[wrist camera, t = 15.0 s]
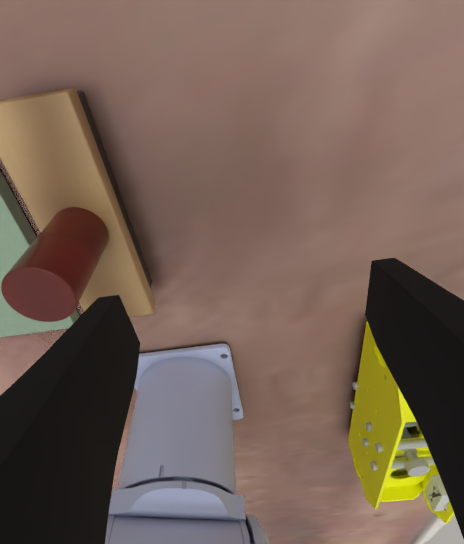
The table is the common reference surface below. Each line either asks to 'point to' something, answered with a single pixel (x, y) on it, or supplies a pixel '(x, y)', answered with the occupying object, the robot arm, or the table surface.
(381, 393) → the yellow toy chassis
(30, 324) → the tile
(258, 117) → the table surface
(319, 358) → the table surface
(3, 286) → the brush
